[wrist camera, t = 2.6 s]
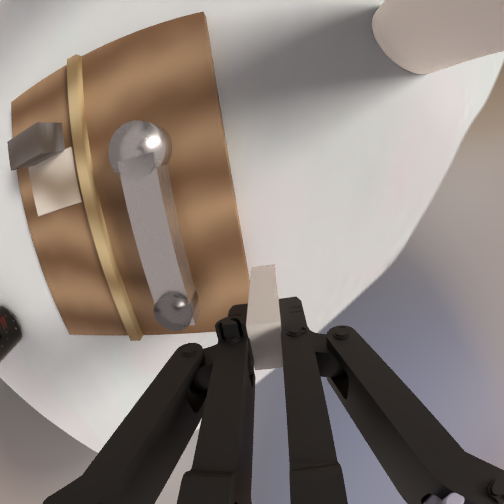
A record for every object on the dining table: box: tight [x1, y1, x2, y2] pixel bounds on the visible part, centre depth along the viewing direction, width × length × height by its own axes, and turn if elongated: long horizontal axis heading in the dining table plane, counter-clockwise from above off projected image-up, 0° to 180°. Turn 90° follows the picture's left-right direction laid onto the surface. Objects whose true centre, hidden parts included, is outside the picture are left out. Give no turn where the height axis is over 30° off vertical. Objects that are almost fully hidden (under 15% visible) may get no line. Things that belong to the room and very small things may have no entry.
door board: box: [8, 12, 250, 340], centre depth 21 cm, size 30×24×5 cm
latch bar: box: [108, 120, 201, 331], centre depth 21 cm, size 17×4×3 cm, turn 9°
